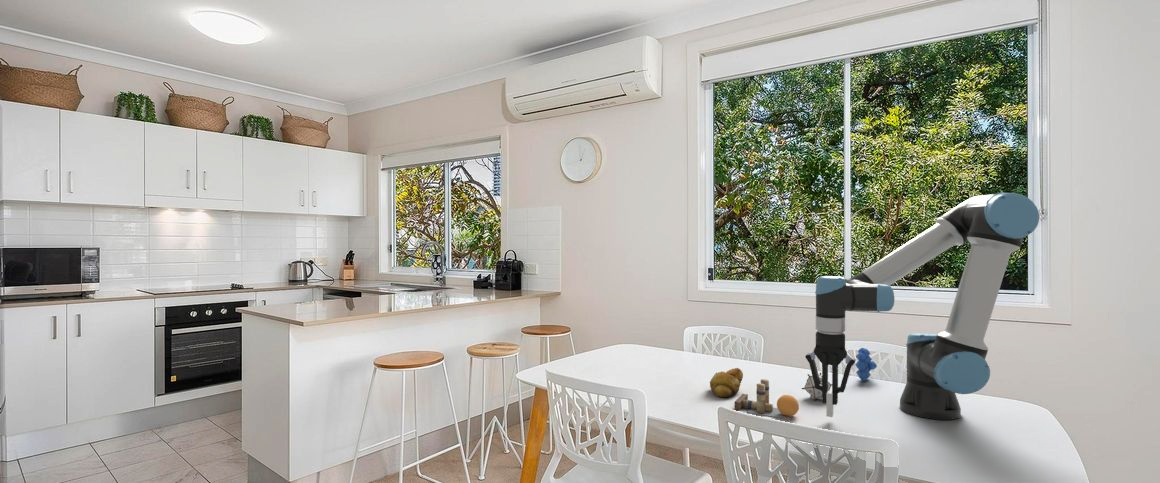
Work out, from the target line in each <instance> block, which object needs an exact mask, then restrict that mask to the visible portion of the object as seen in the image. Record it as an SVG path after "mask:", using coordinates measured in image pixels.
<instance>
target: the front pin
mask: <svg viewBox="0 0 1160 483" xmlns="http://www.w3.org/2000/svg"><path fill="white" fill-rule="evenodd" d="M742 407H743V408H744V409H747V410H749V409H755V410H757V400H756V401H754V400H750V399H748V400H744V399H743V401H742ZM773 407H774V404H772V403H769V404H768V403H765V411H766V412H772V411H773ZM743 408H742V409H743Z"/></svg>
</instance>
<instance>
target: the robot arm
mask: <svg viewBox="0 0 1160 483" xmlns="http://www.w3.org/2000/svg"><path fill="white" fill-rule="evenodd" d="M1039 222H1040V213H1039V210H1038V207H1037V205H1036V204H1035V203H1034V201H1033V200H1032V199H1030V198H1029V197H1027V196H1026V195H1023V194H1021V193H1016V192H1003V191H1002V192H998V193H991V194H981V195H975V196H972V197H970V198H968V199H965V200H964V201H963V202H961V203H959V204H958V205H957V206H955V207H953V208H952V209H950V210H949V211H947V212H946V213H944V214H943V215H941V216H939V217H938V218H936V220H935V224H934V225H933V226H931V227H929V228H928V229H926V230H924V231H923V232H921V233H920V234H918V235H916V236H915V237H914V238H912V239H910V240H908V241H907V242H906V243H904V244H903V245H901V246H900V247H898V248H896V249H895V250H893V251H892V252H890V253H888V254H887V255H886V256H884V257H883V258H881V259H880V260H878V261H876V262H875V263H873V264H871V265H870V266H868V267H867V268H865V269H864V270H862V271H860V272H859V273H858V274H855V275H854V276H852V277H847V278H845V277H843V276H835V275H834V276H833V275H822V276H819V277H817V279H816V284H815V291H814V292H815V330H816V332H815V346H814V348H813V351H812V352H807V354H806V355H805V359H806V360H807V362H808V364H809V368H810V372H811V376H813V380H814V384H815V388H816V389H819V390H821V391H822V398H821V401H822V403H823V404H826V408H825V409H826V411H825V412H826V413H825V414H826V417H830V418H833V416H834V406H835V405H836V406H837V404H838V402H839V401H838V400H839V397H838V396H839V393H844V392H845V390H846V387H847V383H848V380H849V376H850V373H851V370H852V367H853V366H855V364H856V359H857V358H856V357H851V356H850V355H849V354H848V351H847V350H846V334H845V333H844V332H846V312H877V313H880V312H891V311H892V309H893V308H894V306H895V293H894V289H893V287H892V286H891V285H893V284H894V283H896V282H897V281H899V280H900V279H902V278H904V277H905V276H907V275H909V274H910V273H912V272H914V271H916V269H918V268H920V267H922V266H923V265H925V264H926V263H928V262H930V261H931V260H932V259H935V258H937V256H939V255H941V254H942V253H944V252H946V251H948V250H949V249H950V248H952V247H954V246H963V245H964V244H965V243H967V242H969V244H970V249H969V252H968V256H967V259H966V262H965V266H964V269H963V272H962V275H961V278H960V281H959V285H958V289H957V292H956V295H955V297H954V301H953V305H952V308H951V310H950V314H949V316H948V317H949V318H948V320H947V321H948V322H947V324H946V327H945V330H942V331H941V332H939V333H929V332H928V333H926V332H925V333H924V332H923V333H921V332H917V333H916V332H915V333H910V334H908V336H907V340H906V344H905V345H906V382H905V386H904V389H903V392H902V393H901V396H900V399H899V408H900V409H901V410H902V411H903V412H905V413H907V414H910V415H912V416H917V417H920V418H924V419H925V418H926V419H929V420H930V419H931V420H939V421H940V420H943V421H950V420H952V421H953V420H957V419H959V418H961V415H962V412H961V411H962V410H961V409H962V408H961V405H960V403H959V399H958V397H957V394H958V395H969V394H974V393H976V392H978V391H980V390H982V389H983V388H984V387H985V386H986V385H987V383H988V382H989V380H990V377H991V369H990V365H989V364H988V362H987V360H986V357H987V355H988V351H989V347H988V346H987V345H986V343H985V336H986V332H987V331H988V327H989V324H990V320H991V317H992V314H993V311H994V308H995V304H996V301H997V299H998V295H999V292H1000V289H1001V285H1002V282H1003V278H1004V277H1005V274H1006V273H1005V272H1006V269H1007V266H1008V263H1009V260H1010V256H1011V254H1012V253H1014V252H1016V251H1018V250H1020V249H1021V246H1022V244H1023V240H1024V238H1025V237H1027V236H1029V235H1030V234H1032V233H1033V232H1034V231H1036V229H1037V227H1038V224H1039ZM816 357H817V359H818V360H819V362H820V363H821V376H822V385H821V383H820V379H819V375H820V374H819V371H818V367H817V363H816V361H815V360H816ZM844 360H845V364H846V366H845V369H844V371H843V374H842V375H843V376H842V379H841V384H840V386H839V365H840V364H841V363H842V361H844ZM829 366H831V372H832V373H831V375H832V377H831V384H832V385H831V387H832V388H831V390H829V391H828V382H829Z"/></svg>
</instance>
